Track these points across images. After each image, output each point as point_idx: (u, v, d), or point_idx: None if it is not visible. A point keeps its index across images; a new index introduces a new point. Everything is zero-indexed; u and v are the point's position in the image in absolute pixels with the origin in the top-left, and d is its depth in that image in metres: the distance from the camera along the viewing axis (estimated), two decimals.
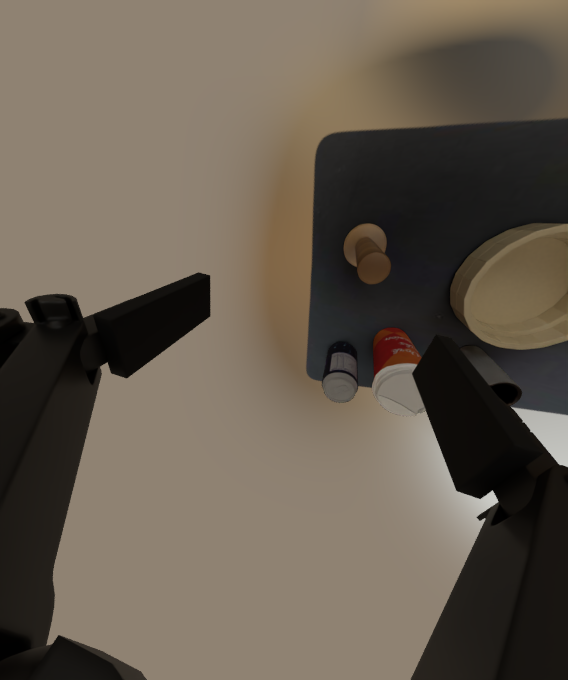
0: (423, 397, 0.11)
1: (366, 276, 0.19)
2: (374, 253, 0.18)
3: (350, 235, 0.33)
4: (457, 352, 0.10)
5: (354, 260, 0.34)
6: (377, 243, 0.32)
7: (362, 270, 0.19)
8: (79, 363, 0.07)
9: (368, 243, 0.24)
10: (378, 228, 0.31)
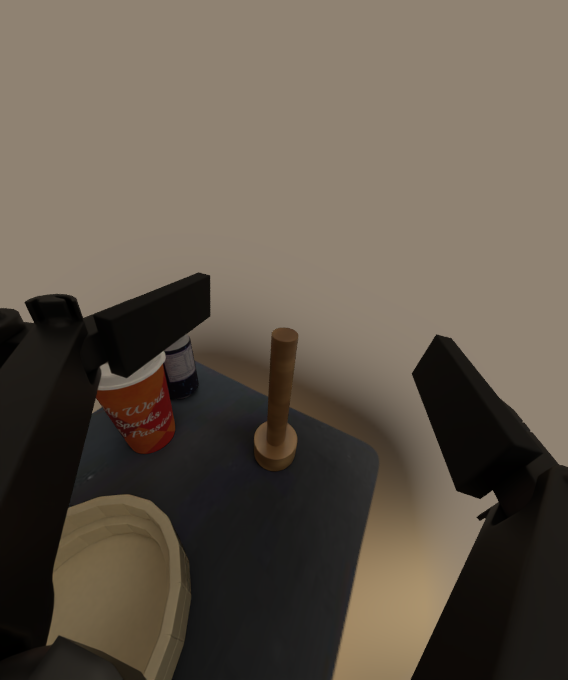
0: (423, 397, 0.11)
1: (281, 330, 0.22)
2: (296, 337, 0.21)
3: (292, 430, 0.32)
4: (457, 351, 0.10)
5: None
6: (272, 449, 0.29)
7: (287, 329, 0.22)
8: (79, 363, 0.07)
9: (290, 391, 0.25)
10: (285, 455, 0.29)
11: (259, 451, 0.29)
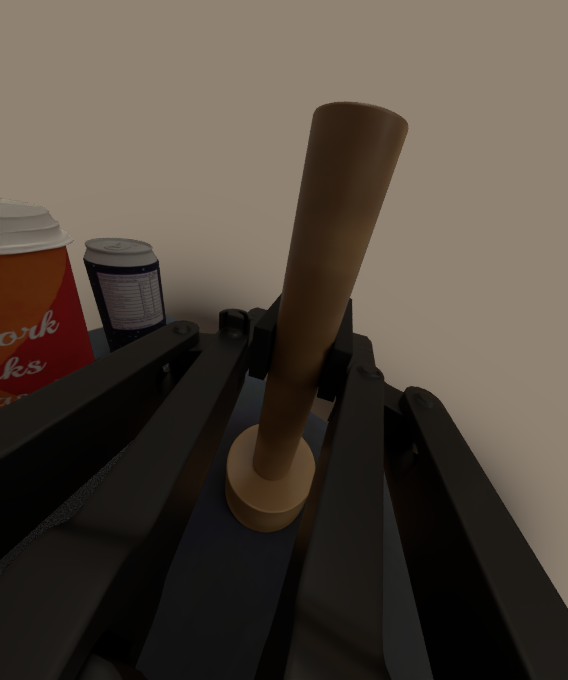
0: None
1: None
2: None
3: (307, 451, 0.16)
4: None
5: None
6: (260, 485, 0.14)
7: None
8: (236, 374, 0.08)
9: (330, 352, 0.10)
10: (287, 506, 0.13)
11: (232, 484, 0.13)
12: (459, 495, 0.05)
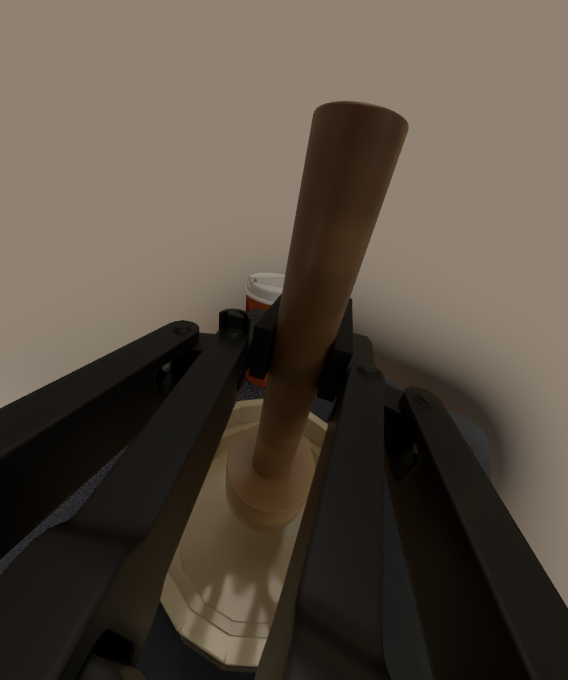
0: None
1: None
2: None
3: (307, 450, 0.16)
4: None
5: None
6: (260, 485, 0.14)
7: None
8: (236, 373, 0.08)
9: (330, 352, 0.10)
10: (287, 506, 0.13)
11: (232, 484, 0.13)
12: (459, 494, 0.05)
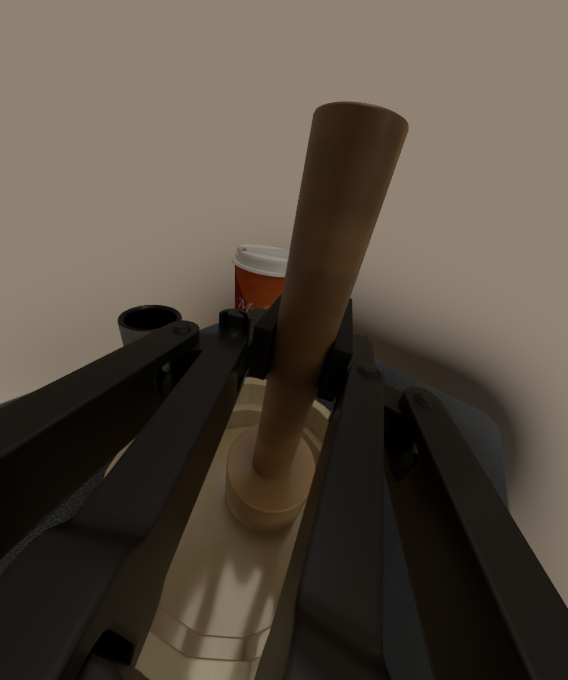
0: None
1: None
2: None
3: (307, 451, 0.16)
4: None
5: None
6: (260, 485, 0.14)
7: None
8: (236, 374, 0.08)
9: (330, 352, 0.10)
10: (287, 506, 0.13)
11: (232, 484, 0.13)
12: (459, 494, 0.05)
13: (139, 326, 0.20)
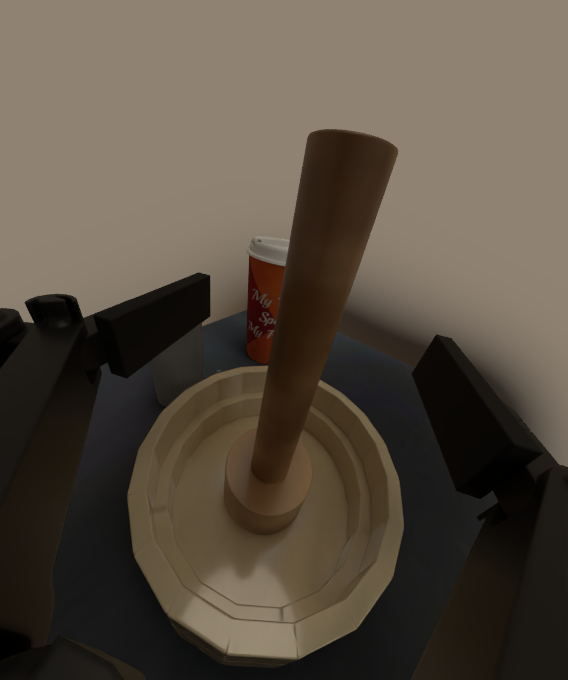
0: (424, 397, 0.11)
1: None
2: None
3: (304, 454, 0.16)
4: (457, 351, 0.10)
5: None
6: (258, 489, 0.14)
7: None
8: (79, 363, 0.07)
9: None
10: (284, 509, 0.13)
11: (231, 488, 0.14)
12: None
13: None
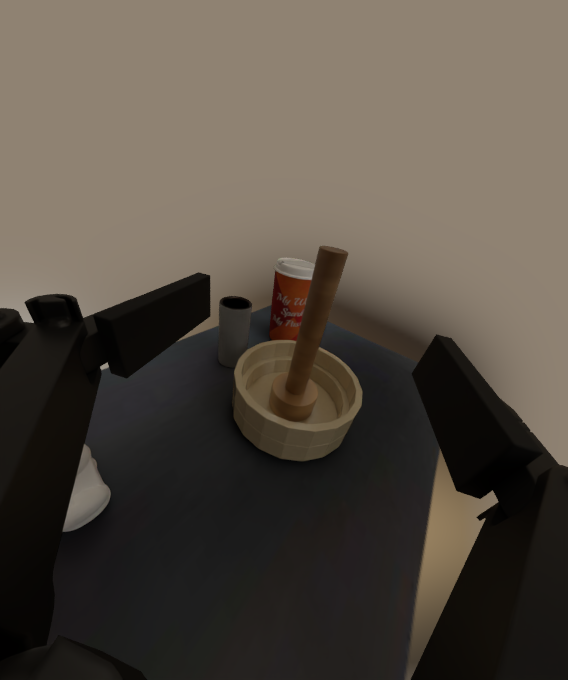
0: (423, 397, 0.11)
1: (329, 247, 0.20)
2: (346, 253, 0.19)
3: (313, 385, 0.30)
4: (457, 352, 0.10)
5: (288, 375, 0.30)
6: (290, 396, 0.27)
7: (336, 248, 0.20)
8: (79, 363, 0.07)
9: (325, 325, 0.23)
10: (304, 404, 0.27)
11: (277, 395, 0.27)
12: None
13: None
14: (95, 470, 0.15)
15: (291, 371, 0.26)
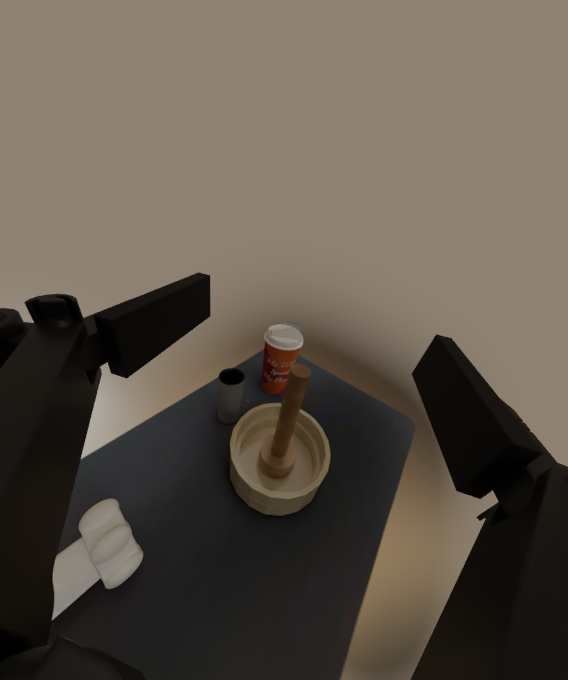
0: (424, 397, 0.11)
1: (298, 365, 0.28)
2: (309, 374, 0.27)
3: (293, 446, 0.37)
4: (457, 352, 0.10)
5: (273, 437, 0.38)
6: (274, 459, 0.35)
7: (303, 366, 0.28)
8: (79, 363, 0.07)
9: None
10: (285, 467, 0.34)
11: (263, 459, 0.35)
12: None
13: (223, 378, 0.41)
14: (134, 541, 0.23)
15: (274, 441, 0.34)
